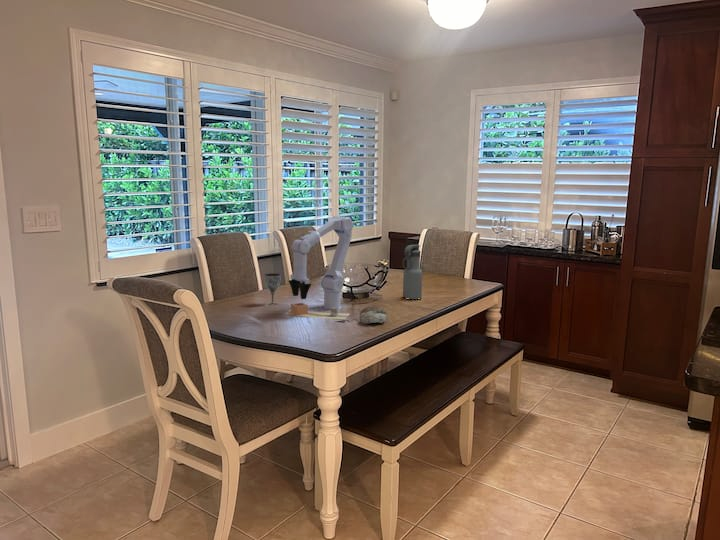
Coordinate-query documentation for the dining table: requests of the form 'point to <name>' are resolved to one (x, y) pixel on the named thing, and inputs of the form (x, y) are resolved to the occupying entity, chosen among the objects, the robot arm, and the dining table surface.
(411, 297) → the water bottle
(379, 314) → the grey rounded lump
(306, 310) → the collar
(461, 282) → the dining table surface
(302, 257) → the robot arm
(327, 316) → the board
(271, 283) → the wine glass
